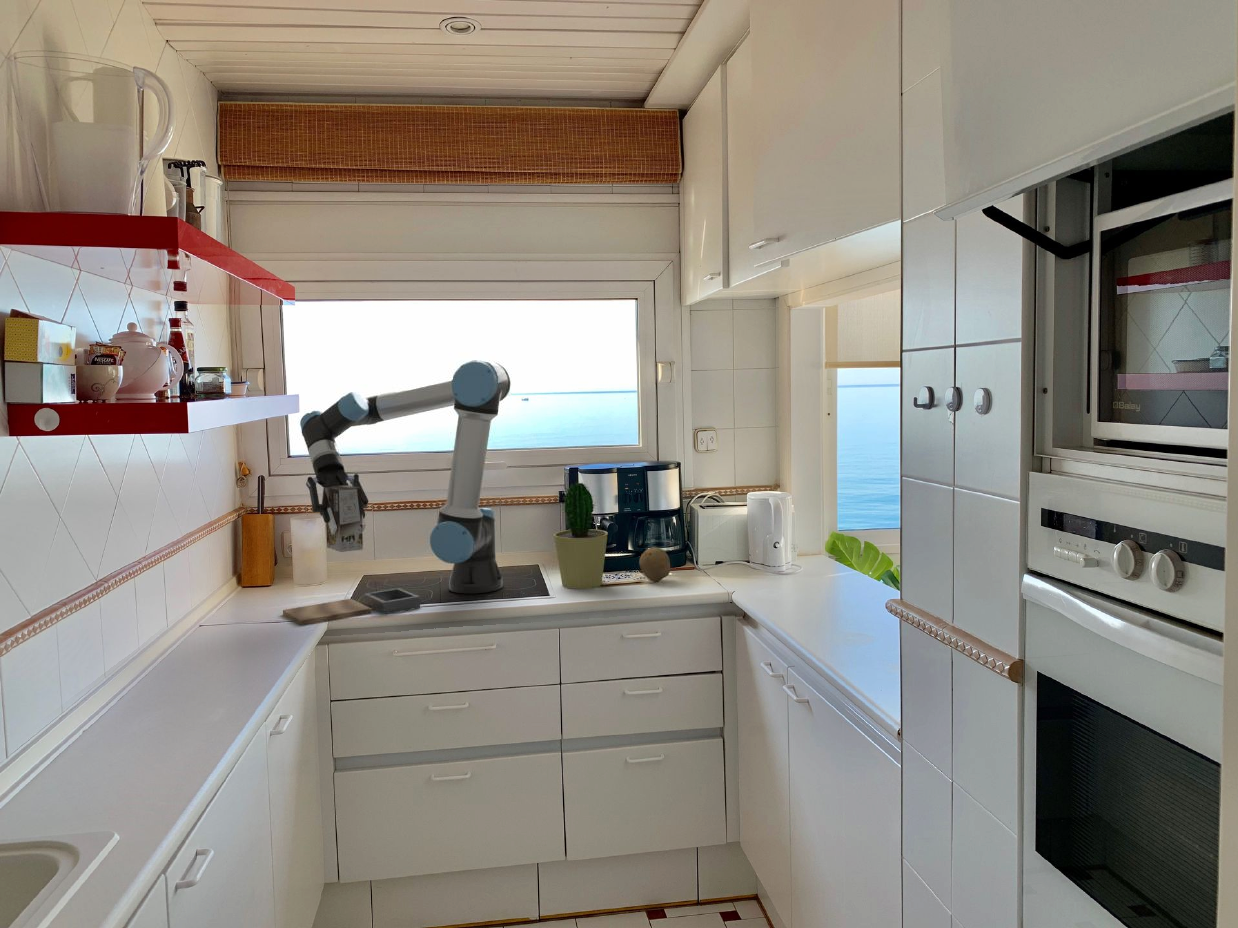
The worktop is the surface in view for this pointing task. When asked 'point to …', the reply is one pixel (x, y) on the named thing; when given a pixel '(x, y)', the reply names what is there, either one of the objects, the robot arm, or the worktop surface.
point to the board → (326, 611)
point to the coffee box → (345, 518)
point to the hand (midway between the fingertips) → (348, 529)
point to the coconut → (655, 564)
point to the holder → (391, 600)
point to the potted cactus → (580, 542)
